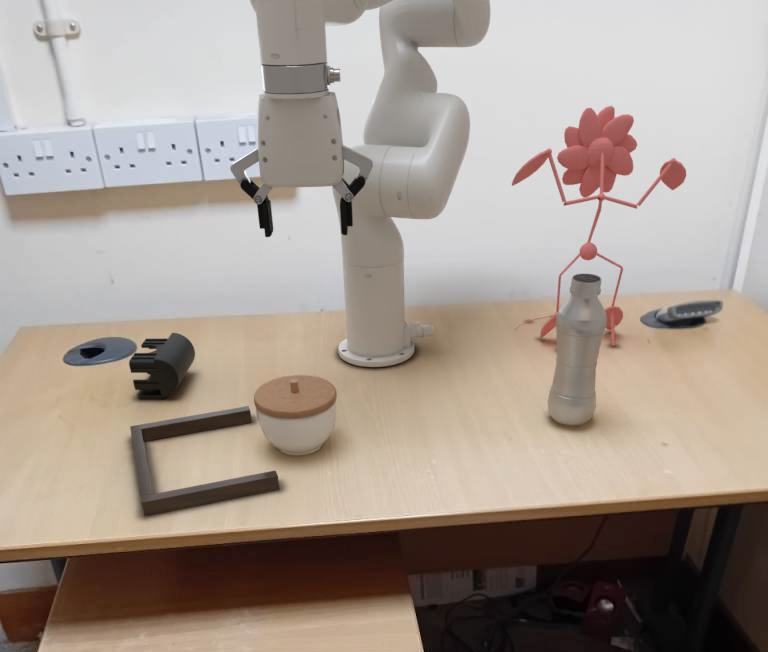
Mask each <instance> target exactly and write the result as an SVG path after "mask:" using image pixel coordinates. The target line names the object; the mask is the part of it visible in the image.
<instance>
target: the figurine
mask: <svg viewBox="0 0 768 652" xmlns="http://www.w3.org/2000/svg"><path fill="white" fill-rule="evenodd" d="M615 112H616V110H615V107H614V106H613V105H609V106H605V107H603V108H602V109H601V110H600V111H599V112H598V113H596V112H595V110H594V109H593V108H592V107H586V108H585V109H584V110H583V112H582V113H581V116H580V118H579V122H578V127H575V126H571V125H568V126H567V127H566V128H565V129H564V134H563V135H564V136H563V137H564V143H565V145H566V148H564V149H562V150H560V152H558V154H557V157H556V159H557V162H558V163H559V164H560V165H561V166H562V167H563V168H565V169H566V170H565V171H564V172H563V174H562V178H561V179H560V177H559V173H558V171H557V167H556V164H555V160H554V158H553V155H552V153H553V150H552V149H551V148H547V149H546V150H543V151H541V152H539V153H538V154H536V155H535V156H533V157H532V158H530V159H529V160H528V161H527V162H525V163H524V164H523V165H522V166H521V167H520V168H519V170H518V171H517V172H516V174H515V176H514V177H513V180H512V181H511V186H515V185H517V184H519V183H521V182H522V181H524V180H526V179H527V178H530V177H531V176H532V175H533V174H534V173H536V172H537V171H538V170H539V169H540V168H541V167H542V166H543V165H544V164H545V163H546V161H547V160H548V161H549V164H550V167H551V170H552V173H553V177H554V179H555V184H556V186H557V189H558V193H559V196H560V199H561V202H562V203H563V207H565V206H570V205H575V204H580V203H585V202H589V201H594V200H598V205H597V209H596V213H595V217H594V218H593V222H592V226H591V229H590V232H589V236H588V239H587V242H585V243H584V244H582V245H581V246H580V248H579V253H578V255H576V256H575V257H574V258H573V259H572V261H570V263H569V264H567V265H566V267H565V268H564V269H563V270H562V271H561V272H560V273H559V274H558V282H557V283H558V284H557V295H556V296H557V297H556V298H557V299H556V309H555V312H554V314H552V315H547V316H543V317H538V318H534V319H531V320H530V319H527V320H525V321H524V322H523V323H522V324H520V325H518V326H517V327H515V330H517V329H518V328H519V327H521V326H523V325H525V324H527V323H530V322H533V321H536V320H540V319H546V318H549V319H548V320H546V322H545V323H544V325H543V326H542V327H541V330H540V332H539V333H540V335H539V336H540V339H542V338H544V337H545V336H546V335H548V334H549V333H550V332H551V331H552V330H554V328H556V316H557V313H558V311H559V309H560V296H561V283H562V276H563V274H565V272H567V270H568V269H569V268H570V267H571V266H572V265H573V264H574V263H575V262H576V261H577V260H578V259H579V258H580V257H581V259H582V260H584V261H591V260H593V259H595V258H596V257H599V258H601V259H603V260H604V261H605V262H608V263H610V264H612V265H614V266H616V267H618V268H620V270H619V273H618V278H617V282H616V286H615V290H614V294H613V299H612V301H611V306H608V307H606V308H604V310H605V312H606V317H607V323H606V328H605V330H609V331H610V338H611V339H610V342H611V346H612V347H613V346H616V334H615V333H616V332H615V328H616V327H618V325H620V324H621V322H622V320H623V319H624V311H623V310H622V309H621V307H620V306H616V305H615V303H616V300H617V295H618V291H619V288H620V283H621V279H622V276H623V272H624V268H623V267H624V266H622V265H620V264H618V263H617V262H615V261H613V260H611V259H609V258H607V257H606V256H604V255H603V254H601V253H598V247H597V245H596V244H594V243H593V242H591V240H592V238H593V235H594V233H595V229H596V227H597V224H598V220H599V217H600V215H601V212H602V207H603V201H609V202H611V203H616V204H619V205H622V206H626V207H630V208H633V209H636V210H637V209H638V207H640V206H641V205H642V204H643V203H644V201H646V199H647V198H648V196H649V195H650V194H651V193H652V192H653V190H654V189H655V188H656V186H658V184H659V183H660V182H661V183H663V184H664V185H665V186H666V187H667V188H668V189H670V190H671V191H674V190H676V189H678V188H679V187H680V186H681V185H683V184H684V182H685V180H686V177H687V169H686V167H685V166H684V164H683V163H682V162H680V161H679V160H677V159H676V158H674V157H673V158H671V159H670V160H667V161H664V163H663V165H661V167H660V169H659V176H658V177H656V179H655V180H654V182H653V183H652V184H651V186H650V187H649V188H648V189H647V191H645V193H644V194H643V195H642V197H640V199H639V200H638V202H637V203H633V202H629V201H625V200H621V199H618V198H615V197H611V196H607V195H605V194H606V193H610V192H611V191H612V190H613V187H614V184H615V182H616V179H617V175H618V176H625V177H626V176H630V175H631V174H632V173H633V171H634V160H633V157H632V156H631V153H633V152H634V151H635V150H636V149H637V146H638V142H637V140H636V139H635V137H633V136H632V135H631V134H629V132H630V131H631V129H632V128H633V125H634V122H635V119H634V116H633V115H631V114H629V113H628V114H621V115H618V116H615V114H616V113H615ZM561 180H562V183H561ZM562 184H563V185H565V186H573V185H579V184H580V185H579V188H578V190H579V193H580V196H581V198H576V199H573V200H567V199H566V196H565V193H564V190H563V187H562ZM598 189H599V194H597V195H593V194H594V193H595V192H597V190H598ZM604 193H605V194H604ZM647 342H648V344H650V341H649V339H647Z"/></svg>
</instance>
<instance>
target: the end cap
mask: <svg viewBox="0 0 768 652" xmlns="http://www.w3.org/2000/svg"><path fill="white" fill-rule="evenodd" d="M140 346H141V349H148V350H153V351H150V352H134V353H133V355H132V356H131V358H130V359H129V362H128V365H129V370H130V374H131V373H132V374H133V373H135V374H147V375H149V376H148V377H147V379H133V380H132V384H133V387H134V390H135V391H137V393H136V394H137V398H138V399H139V400H164V399H167V398H169V397H170V396H171V395H173V393H174V392H176V390H177V389H178V388H179V386H180V384H181V383H182V380H183V379H184V377H185V376H186V374H187V372H188V371H189V369H190V368H191V366H192V365H193V363H194V361H195V357H196V350H195V347H194V345H193V343H192V342H191V341H190V339H189V338H187V337H186V336H185V335H183V334H182V333H181V334H180V333H177V332H172V333H170V335H169V336H168V338H145V339H144V341H143V342H142V343H141V344H140Z"/></svg>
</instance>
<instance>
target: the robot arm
mask: <svg viewBox="0 0 768 652" xmlns="http://www.w3.org/2000/svg"><path fill="white" fill-rule="evenodd" d="M249 2H250V5H251V8H252V10H253V11H254V12H255V16H256V17H255V18H256V25H257V36H258V38H257V39H258V47H259V57H260V66H261V67H260V69H261V78H262V87H263V88H262V89H263V93H261V94H258V100H257V117H256V118H257V120H256V122H257V123H256V125H257V127H256V128H257V129H256V131H257V133H256V134H257V148H255V149H254V150H251V152H248V153H247V154H245V155H243V156H242V157H241V158H239V159H237V160H235V161H234V162H232V164H231V165H230V172H231V173H232V175H233V177H234V178H235V180H236V181H237V183H238V185H239V186H240V189H241V190H242V191H243V192H245V194H246V195H247V196H249V197H250V198H251V199H252V200H253V202H254V204H256V207H257V217H258V225H259V229H261V230H263V229H264V237H265V238H270V237H272V235H273V233H274V223H273V222H274V221H273V212H272V202H271V200H270V198H269V196H268V195H269V194H270V192H271V191H272V189H273V188H276V189H277V188H278V189H279V188H280V189H281V188H282V189H283V188H284V189H286V188H287V189H290V188H325V187H331V190H332V195H333V199H334V203H335V207H336V213H337V218H338V223H339V230H340V240H341V256H342V274H343V276H342V277H343V291H344V309H345V327H346V337H345V338H344V339H343V340H341V341H340V342H339V344H338V347H337V350H338V356H339V357H340V358H341V360H343V361H344V362H346V363H348V364H351V365H354V366H358V367H364V368H365V367H366V368H384V367H390V366H394V365H395V366H396V365H398V364H401V363H404V362H406V361H407V360H409V359H411V357H412V356H413V355H414V353H415V343H414V342H415V341H416V339H419V338H422V339H423V338H428V337H433V336H434V327H433V325H432V324H424V325H421V322H419V321H415V322H411V323H407V322H406V320H405V319H406V318H405V245H404V240H403V238H402V235H401V233H400V230H399V229H398V227H397V225H396V223H395V222H394V220H393V218H397V219H410V220H432V219H435V218H437V217H439V216H440V215H441V214H442V213H443V211H444V210H445V208H446V207H447V204H448V202H449V200H450V199H449V198H450V196H451V194H452V192H453V189H454V185H455V183H456V180H457V178H458V175H459V172H460V169H461V166H462V164H463V161H464V159H465V157H466V152H467V149H468V145H469V140H470V133H471V117H470V112H469V109H468V106H467V104H466V103H465V101H464V100H463V99H462V98H461V97H460V96H458V95H456V94H452V93H447V92H437V91H438V80H437V77H436V74H435V72H434V70H433V69H432V67H431V65H430V63H429V62H428V60H427V59H426V58H425V57H424V55H422V54H421V52H420V51H419V48H470V47H471V48H472V47H475V46H477V45H479V44H480V43H481V42H483V40H484V39H485V37H486V35H487V33H488V31H489V27H490V24H491V23H490V22H491V2H490V0H249ZM378 8H379V10H378V27H379V28H378V29H379V39H380V49H381V55H382V62H383V69H384V72H383V77H382V79H381V82H380V84H379V87H378V89H377V90H376V93H375V96H374V98H373V100H372V102H371V105H370V107H369V110H368V112H367V115H366V118H365V121H364V124H363V127H362V128H363V129H362V139H363V144H356V145H355V144H354V145H351V146H346V145H344V142H343V131H342V122H341V121H342V120H341V113H340V109H339V104H338V98H337V95H336V92H335V91H330V90H329V88H330V86H331V85H332V84H335V83H340V82H341V68H334V67H331V65H328V56H327V53H328V51H327V36H326V34H327V33H326V26H327V27H334V26H335V27H336V26H337V27H338V26H347V25H349V24H352V23H354V22H356V21H358V19H360V18H361V17H362V15H363V14H364V13H365V12H366V11H368V10H369V11H370V10H375V9H378ZM257 163H258V168H259V176H260V180H261V185H259V186H258V184H256V183H255V182H254V181H253V180H252V179H250V178H249V175H248V174H247V172H246V170H248V169H249V168H251V167H252V166H254V165H255V164H257Z"/></svg>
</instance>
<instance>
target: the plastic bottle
mask: <svg viewBox="0 0 768 652" xmlns="http://www.w3.org/2000/svg"><path fill="white" fill-rule="evenodd" d="M601 287H602V277H601V276H599V275H597V274H593V273H577V274H574V275H573V276H572V277H571V283H570V287H569V293H570V296H569V297H568V298H567V299H566V300H565V301H564V302H563V303H562V304H561V306H559V311H558V313H557V316H556V326H555V328H556V359H555V360H556V362H555V368H554V373H553V379H552V384H551V387H550V389H549V393H548V398H547V411H548V414H549V415H550V417H551V418H552V419H553V420H554V421H555V422H557V423H559V424H561V425H566V426H580V425H584V424H586V423H588V422H589V421H590V420H591V419H592V418H593V416H594V413H595V411H596V408H597V393H596V392H597V391H596V381H597V380H596V379H597V378H596V377H597V366H598V359H599V355H600V349H601V345H602V341H603V338H604V335H605V331H606V323H607V317H606V312H605V310H604V309H605V308H604V305H603V304H602V302H601V301H600V299H599V297H598V296H600V295H601V293H602V289H601Z"/></svg>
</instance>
